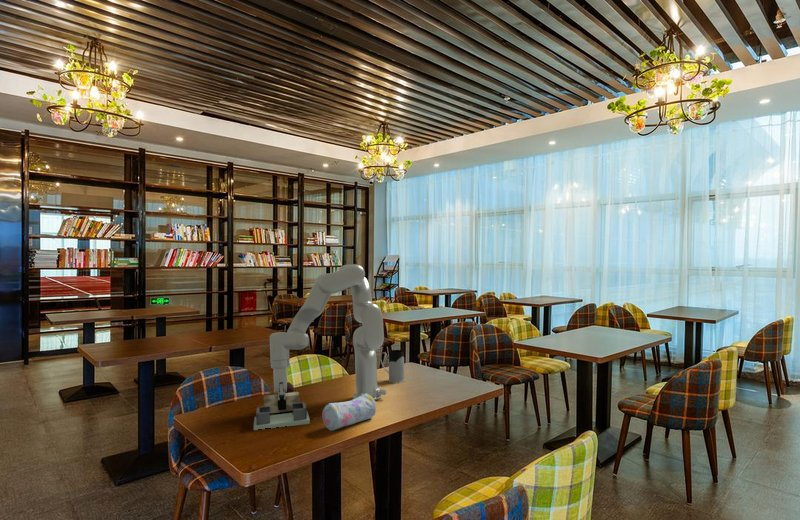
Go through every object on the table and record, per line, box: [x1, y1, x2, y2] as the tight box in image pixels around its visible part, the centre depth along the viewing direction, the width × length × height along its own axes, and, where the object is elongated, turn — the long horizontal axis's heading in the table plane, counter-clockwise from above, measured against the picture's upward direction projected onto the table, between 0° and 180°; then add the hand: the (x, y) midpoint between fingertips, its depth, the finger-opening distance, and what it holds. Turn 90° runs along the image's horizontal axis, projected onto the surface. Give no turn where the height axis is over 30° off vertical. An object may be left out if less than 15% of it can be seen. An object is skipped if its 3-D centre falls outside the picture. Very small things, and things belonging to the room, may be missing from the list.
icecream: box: [285, 381, 295, 393], centre depth 210 cm, size 7×7×15 cm
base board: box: [253, 411, 311, 431], centre depth 175 cm, size 20×11×2 cm, turn 106°
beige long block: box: [263, 391, 301, 414], centre depth 188 cm, size 14×5×6 cm, turn 107°
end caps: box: [255, 401, 308, 425], centre depth 175 cm, size 18×9×4 cm, turn 106°
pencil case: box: [321, 393, 377, 432], centre depth 171 cm, size 21×9×10 cm, turn 137°
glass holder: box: [379, 349, 406, 384], centre depth 235 cm, size 9×14×15 cm, turn 57°
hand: (282, 407), depth 188 cm, fingers closed on beige long block, 5 cm apart
